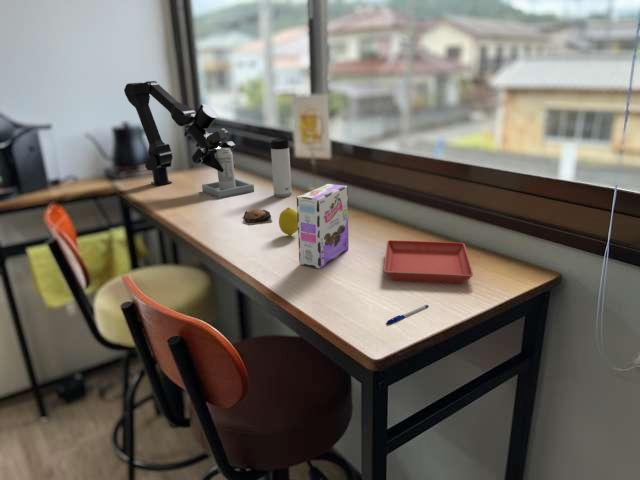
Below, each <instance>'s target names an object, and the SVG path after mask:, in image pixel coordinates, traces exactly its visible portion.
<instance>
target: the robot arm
mask: <svg viewBox="0 0 640 480" xmlns="http://www.w3.org/2000/svg"><path fill="white" fill-rule="evenodd" d="M123 90H124V95H125V96H126V99H127V101H128V102H129V103H130V104H131V105H132V106H133V107H134V108H135V110H136V112H137V115H138V118H139V120H140V123H141V126H142V129H143V131H144V134H145V137H146V140H147V142H148V149H147V151H148V152H147V153H148V159H147V161H146V162H145V164H144V166H145V168H146V170H147V171H151V172H152V179H153V181H151V182H150V184H152V185H154V186H155V187H157V186H158V187H159V186H162V185H169V184H173V182H172V181H171V180H169V175H168V168H171V167H172V161H173V154H174V153H173V151H172V149H171V146H170V144H169V143H165V142H164V141H163V140H162V137H161V134H160V133H159V130H158V126H157V124H156V121H155V118H154V116H153V113H152V111H151V110H152V109H151V108H150V100H151V97H152V98H154V100H156V101H157V102H158V103H159V104H160V105H161V106H162V107H164V109H166V110H167V111H168V113H170V116H171V119H172V120H173V121H174V122H175V124H176V125H178V127H185V126H186V127H187V126H188V127H187V128H184V132H183V133H184V137H191V138H192V139H193V140H194V142H195V147H196V148H197V149H196V150H195V152H194V153H193V154H192V155H191V160H192V162H193V163H194V164H195V165H197V164H201V165H205V166H207V167H210V168H212V169H215V171H217V170H218V171H220V172H223V171H224V169H223V168H222V166H221V165H220V163H219V162H218V161H217V159H216V152H217V149H219V148H230V150H231V152H233V150H234V148H235V147H236V144H235V143H234V142H233V141H232V140H229V141H224V140H227V139H228V137H229V132H228V130H226V129H225V128H220V129H218V130H217V131H214V132H211V133H209V132H208V131H207V130H208V129H209V128H210V127H211V126H212V125H213V123H214V122H215V120H216V119H217V118H218V113H217V111H216V110H215V109H214V108H213V107H211V106H208V105H206V103H203V104H202V103H201V104H200V106H199V108H198V109H197V111H195V110H194V109H193V108H191V107H189V106H187V105H186V104H184V103H183V104H182V103H180V102H179V101H178V100H177V99H176V98H174V96H172V95H171V94H170V93H169V92H167V90H166V89H164V88H163V86H161V85H160V84H159V82H158V81H156V80H151V81H144V82H132V83H131V82H130V83H126V85H125V87H124V89H123ZM150 95H151V96H150ZM222 141H224V142H223V143H222ZM233 164H234V168H235V167H236V166H235V162H233Z"/></svg>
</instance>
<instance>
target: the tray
mask: <svg viewBox="0 0 640 480" xmlns="http://www.w3.org/2000/svg"><path fill="white" fill-rule="evenodd" d="M235 184H236V187H235V188H231V189H226V190H221V189H220V188H219V181H216V182H209V183H205V184H202V185H201V188H202V192H204V193H205V194H207V195H211V196H213V197H215V198H217V199H220V200H221V199H225V198H228V197H229V198H230V197H234V196H239V195H243V194H248V193H253V192H255V185H254V184H253V183H249V182H247V181H244V180H241V179H238V178H235Z"/></svg>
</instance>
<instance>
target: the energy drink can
mask: <svg viewBox="0 0 640 480" xmlns="http://www.w3.org/2000/svg"><path fill="white" fill-rule="evenodd" d="M233 155H234V154H233V151H231V150H230V148H219V149H217V152H216V154H215V158H216V159H217V161H218V162H219V163H220V165H221V166H222V168H223V169H224V171H223V172H220V171H218V170H216V171H217V177H218V178H217V180H218V181H217V182H219V188H220V189H221V190H226V189H231V188H235V187H236V184H235V179H236V177H235V176H236V175H235V167H234V166H235V163H234V156H233ZM233 163H234V164H233Z"/></svg>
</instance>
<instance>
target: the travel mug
mask: <svg viewBox="0 0 640 480" xmlns="http://www.w3.org/2000/svg"><path fill="white" fill-rule="evenodd" d="M290 139H291V138H290V137H281V138H276V139H273V140H271V141H270V155H271V156H270V157H271V168H272V170H271V171H272V172H271V173H272V183H273V196H274V197H276V198H287V197H290V196H292V194H293V193H292V175H291V159H290V158H291V156H290V144H289V141H290Z"/></svg>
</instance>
